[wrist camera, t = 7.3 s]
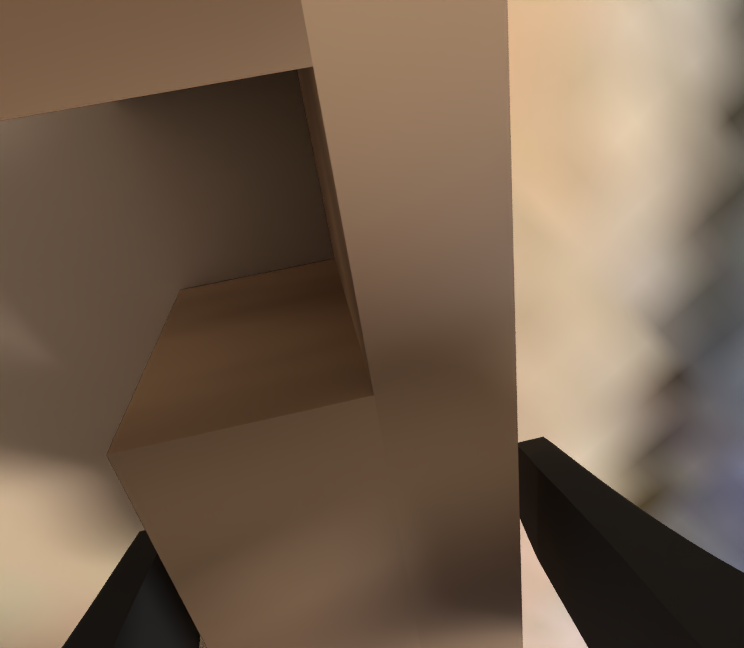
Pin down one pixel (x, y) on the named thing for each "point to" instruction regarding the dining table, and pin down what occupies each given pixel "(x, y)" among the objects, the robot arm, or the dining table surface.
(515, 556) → the wooden notched bar
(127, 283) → the dining table surface
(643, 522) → the robot arm
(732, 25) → the dining table surface
